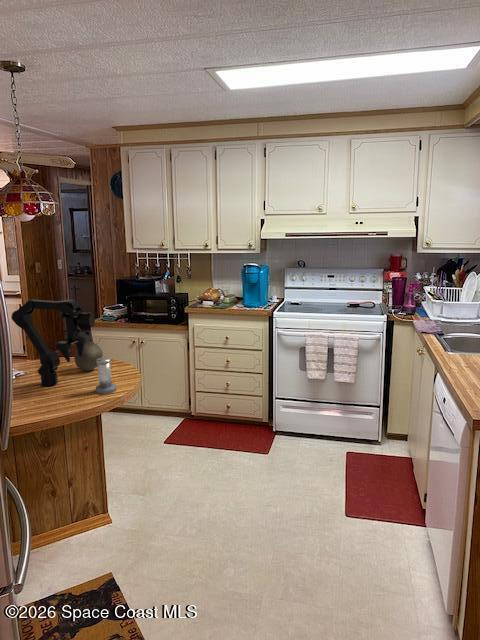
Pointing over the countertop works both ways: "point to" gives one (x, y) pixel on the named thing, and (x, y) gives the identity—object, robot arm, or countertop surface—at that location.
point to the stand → (106, 390)
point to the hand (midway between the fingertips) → (74, 359)
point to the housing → (104, 372)
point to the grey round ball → (88, 357)
